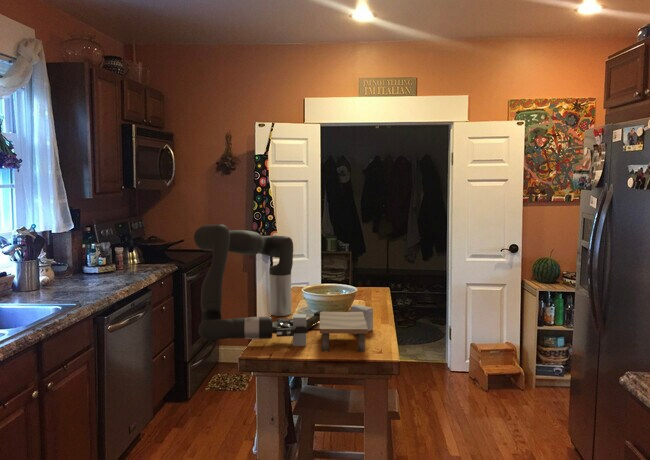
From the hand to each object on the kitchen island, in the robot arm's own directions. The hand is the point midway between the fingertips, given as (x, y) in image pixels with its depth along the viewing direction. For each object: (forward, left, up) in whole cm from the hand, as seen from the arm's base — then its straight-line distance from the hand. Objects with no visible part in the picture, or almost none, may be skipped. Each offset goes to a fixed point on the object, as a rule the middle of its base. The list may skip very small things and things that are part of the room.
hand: (306, 326), depth 182 cm
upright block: (0, -2, -6) cm, 6 cm away
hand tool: (-22, +1, -6) cm, 23 cm away
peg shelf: (-2, +13, -6) cm, 14 cm away
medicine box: (-18, +21, -6) cm, 28 cm away
